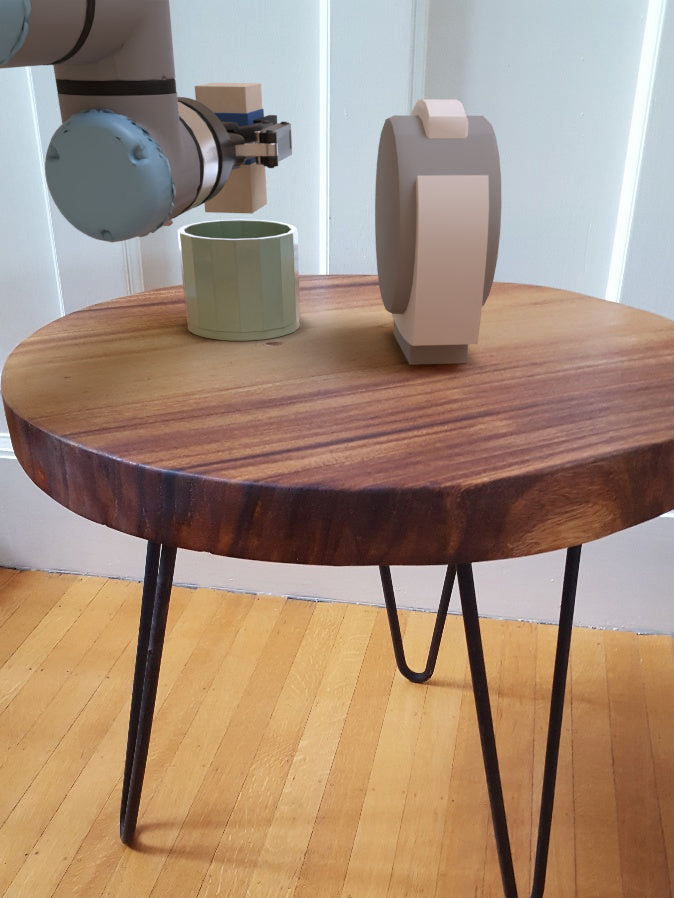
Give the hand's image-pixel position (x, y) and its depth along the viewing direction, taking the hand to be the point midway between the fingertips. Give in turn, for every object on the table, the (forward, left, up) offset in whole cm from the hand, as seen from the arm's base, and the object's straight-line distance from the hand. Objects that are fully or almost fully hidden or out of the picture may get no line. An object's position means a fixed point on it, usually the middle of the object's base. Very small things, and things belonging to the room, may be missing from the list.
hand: (245, 130), depth 91 cm
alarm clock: (+19, -10, -17) cm, 27 cm away
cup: (0, -5, -17) cm, 18 cm away
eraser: (0, -5, -6) cm, 8 cm away
